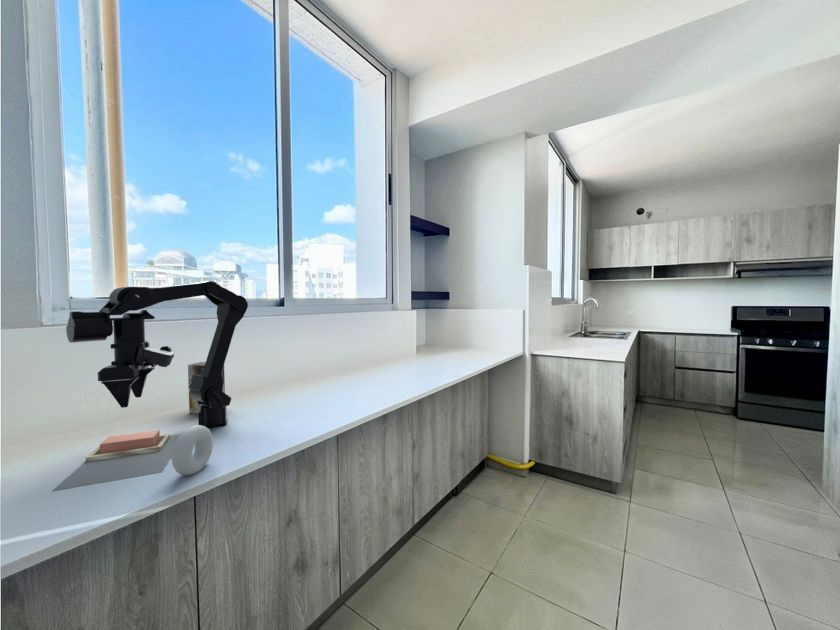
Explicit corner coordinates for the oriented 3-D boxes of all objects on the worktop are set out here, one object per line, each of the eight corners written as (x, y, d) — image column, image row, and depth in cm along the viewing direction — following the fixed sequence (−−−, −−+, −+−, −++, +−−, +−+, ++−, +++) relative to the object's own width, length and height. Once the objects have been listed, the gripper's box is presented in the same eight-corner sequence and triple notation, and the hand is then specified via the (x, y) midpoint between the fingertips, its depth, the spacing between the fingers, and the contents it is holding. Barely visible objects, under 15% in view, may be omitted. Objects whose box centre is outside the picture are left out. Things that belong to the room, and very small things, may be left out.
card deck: (109, 448, 82) (109, 436, 82) (159, 441, 86) (159, 430, 86) (100, 457, 77) (99, 444, 77) (153, 449, 81) (153, 437, 81)
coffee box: (226, 409, 114) (225, 362, 113) (211, 415, 108) (209, 365, 107) (204, 407, 116) (203, 361, 115) (187, 413, 110) (186, 364, 109)
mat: (186, 435, 91) (186, 433, 91) (162, 474, 70) (162, 472, 70) (105, 446, 84) (104, 444, 84) (51, 493, 63) (51, 491, 63)
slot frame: (170, 437, 88) (170, 434, 88) (160, 450, 80) (160, 446, 80) (103, 447, 82) (102, 443, 82) (85, 462, 75) (85, 457, 75)
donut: (202, 461, 76) (201, 418, 76) (217, 461, 76) (216, 418, 75) (167, 485, 66) (166, 435, 66) (184, 485, 66) (183, 435, 65)
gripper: (159, 340, 76) (161, 408, 77) (178, 334, 93) (180, 389, 93) (95, 343, 71) (98, 415, 72) (127, 335, 88) (129, 394, 89)
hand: (131, 402), depth 82 cm, fingers open, 9 cm apart
